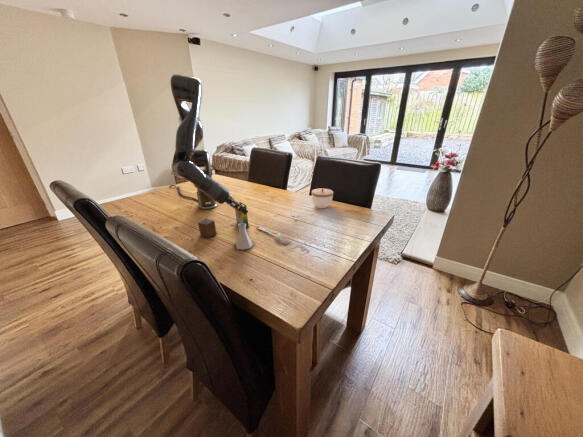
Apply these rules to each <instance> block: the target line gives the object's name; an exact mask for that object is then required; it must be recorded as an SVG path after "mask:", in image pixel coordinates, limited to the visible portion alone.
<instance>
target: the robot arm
mask: <svg viewBox="0 0 583 437" xmlns="http://www.w3.org/2000/svg"><path fill="white" fill-rule="evenodd" d="M169 82H170V91H171V95H172V99H173V101H174V104H175V107H176V109H177V113H178V117H179V122H180V124H179V125H178V127H177V129H176V131H175V132H176V133H175V144H174V145H175V146H174V148H175V149H174V154H173V157H172V163H171V172H172V174H173V175H174V176H175V177H176V178H178V179H185V180H187V181H188V182H190V183H191V184H192V185H193V187H194V188H196V196H197V198H195V197H192V196H187V195H184V194H182V193H181V190H180V189H181V188H180V187H179V186H177V185H176V184H170V185H169V188H171V187H175V188H177V189H178V190H177V191H178V194H179V195H180V196H181V197H183V198H187V199H191V200H193V201H195V202H198V207H199V208H200V209H202V210H211V209H215V208H216V207H217V204H219V205H223V204H226V205H227V206H230V207H231V208H232V209H234V210H235V209H237V210H238V211H239V212H242V213H244V214H245V215H246V214H247V215H248V213H249V210H248V209H247V210H246V209H245V208H243V206H244V205H242V204H241V205H242V206H241V205H240V204H239V201H237V200H236V199H235V198H234V197H233V196H231V191H230V190H229V189H228V188H226V187H225V186H224V185H223V184H221V183H220V182H218V181H216V180H215V179H213V176H212V169H211V162H210V154H209V152H208V150H207V149H196V148H197V147H198V146H199V145H200V143H201V142H202V140H203V138H204V128H203V127H204V126H203V123H202V121H201V119H200V118H199V117H200V113H201V112H200V111H201V105H202V102H203V101H202V100H203V84H202V81H201V80H200V79H199V78H197V77H193V76H187V75H182V74H173V75H171V77H170V81H169ZM188 104H191V107H189V105H188ZM201 168H202V170H201ZM176 186H177V187H176ZM239 206H240V207H239ZM238 207H239V209H238Z"/></svg>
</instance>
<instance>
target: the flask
mask: <svg viewBox="0 0 583 437" xmlns="http://www.w3.org/2000/svg"><path fill="white" fill-rule="evenodd" d="M245 226H246V224H245V223H241V224H239V225H238V224H237V227H238V236H237V240H236V243H235V247H236V249H237V250H243V251H244V250H249V249H251V248H252V247H253V245H254V244H253V242H252V240H251V238H250V237H249V234H248V232H247V228H246V227H245Z"/></svg>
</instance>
